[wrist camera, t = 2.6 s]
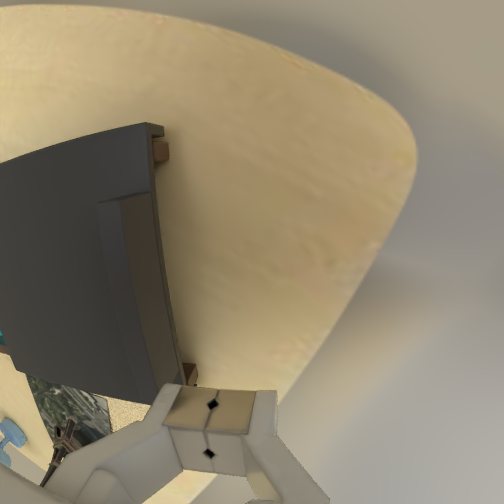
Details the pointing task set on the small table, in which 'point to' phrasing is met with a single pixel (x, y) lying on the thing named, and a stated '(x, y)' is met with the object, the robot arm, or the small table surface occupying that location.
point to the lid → (88, 267)
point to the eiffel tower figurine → (68, 418)
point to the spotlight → (10, 439)
